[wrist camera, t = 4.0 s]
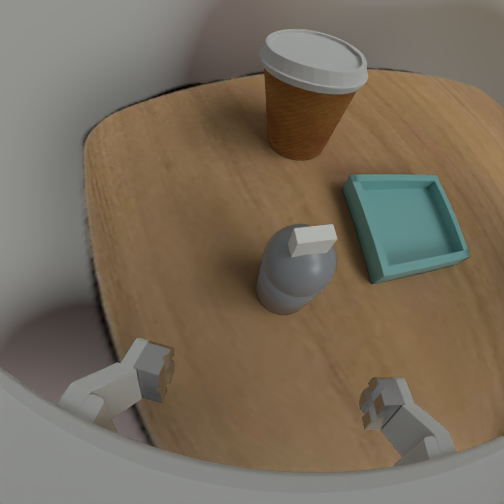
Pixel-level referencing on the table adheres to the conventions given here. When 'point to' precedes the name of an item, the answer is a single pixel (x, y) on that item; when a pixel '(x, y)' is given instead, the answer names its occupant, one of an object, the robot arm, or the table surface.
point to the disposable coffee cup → (308, 88)
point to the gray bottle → (296, 267)
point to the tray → (404, 224)
